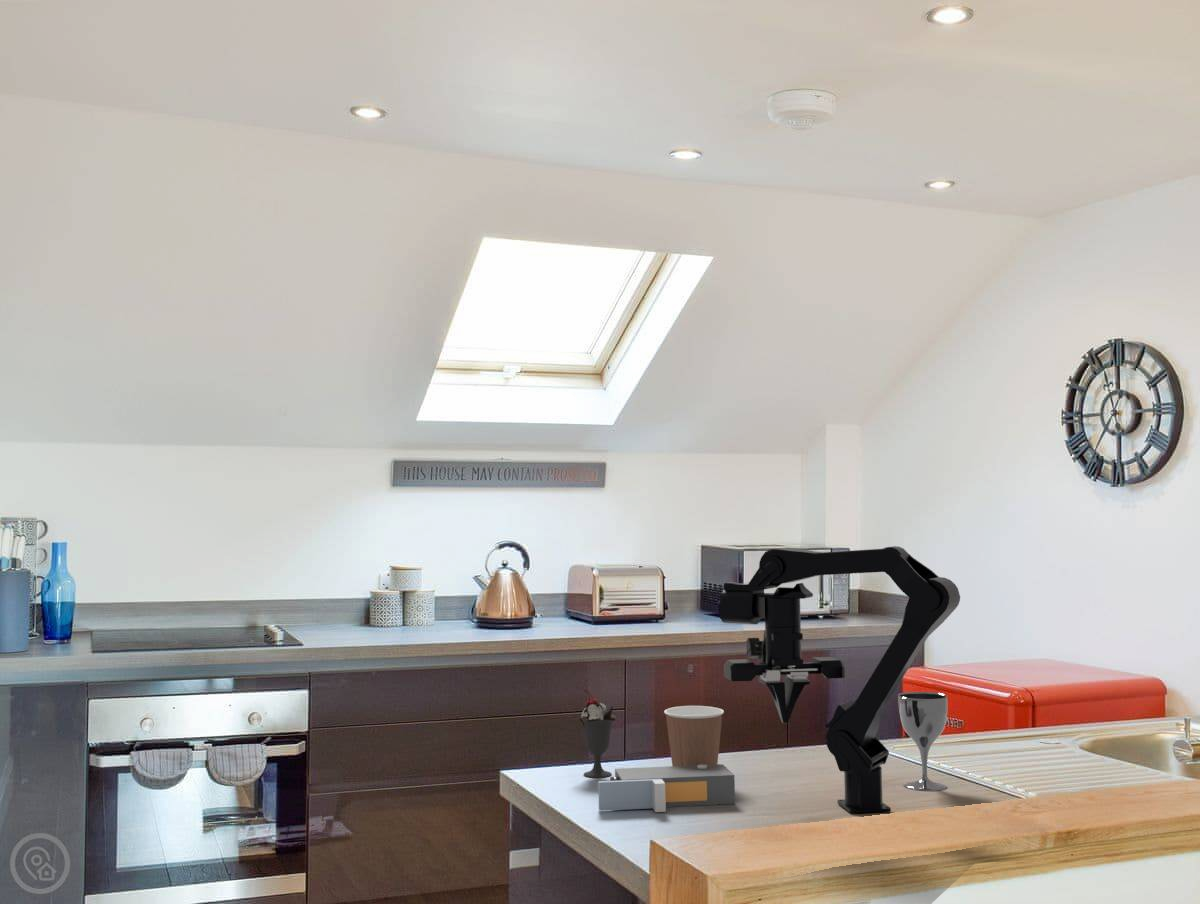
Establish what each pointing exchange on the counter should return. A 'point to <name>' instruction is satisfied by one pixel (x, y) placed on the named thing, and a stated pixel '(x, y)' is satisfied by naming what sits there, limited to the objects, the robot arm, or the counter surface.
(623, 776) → the sliding door box
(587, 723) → the sundae
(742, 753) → the counter surface
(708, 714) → the coffee cup
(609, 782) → the side door
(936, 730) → the wine glass
